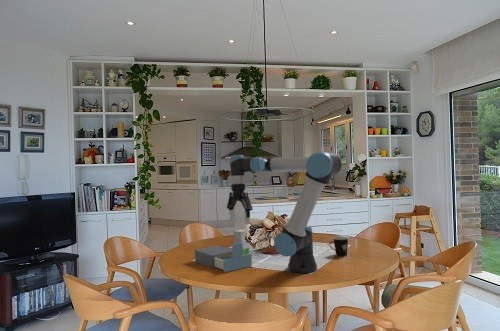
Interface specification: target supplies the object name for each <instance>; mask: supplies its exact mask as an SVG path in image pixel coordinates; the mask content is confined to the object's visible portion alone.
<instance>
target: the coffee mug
mask: <svg viewBox="0 0 500 331" xmlns="http://www.w3.org/2000/svg"><path fill="white" fill-rule="evenodd" d="M332 243H333V244H334V248H333V247H332V246H331V244H332ZM348 244H349V238H348V237H345V236H335V237H333V241H329V244H328V246H329V247H330V248H331V250H333V251H335V256H337V257H347V255H348V247H349V245H348Z"/></svg>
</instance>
